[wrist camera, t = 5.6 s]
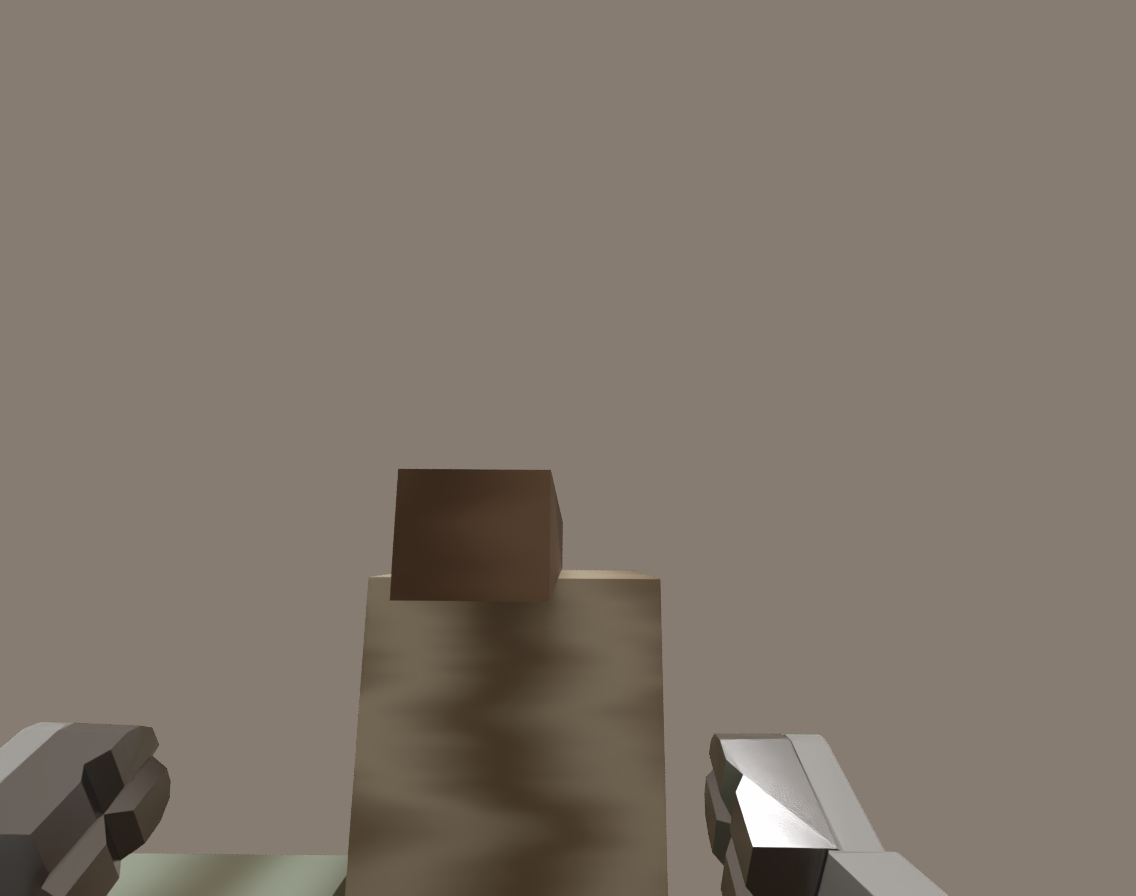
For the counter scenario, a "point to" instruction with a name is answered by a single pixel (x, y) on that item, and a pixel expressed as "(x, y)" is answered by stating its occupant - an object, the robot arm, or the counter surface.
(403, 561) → the walnut bar
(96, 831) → the robot arm
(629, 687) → the two step stand
